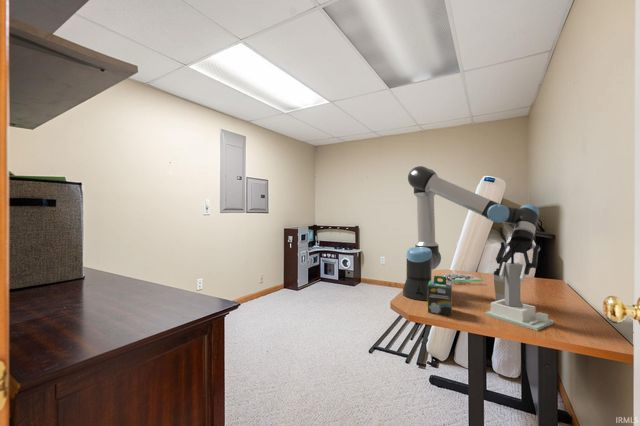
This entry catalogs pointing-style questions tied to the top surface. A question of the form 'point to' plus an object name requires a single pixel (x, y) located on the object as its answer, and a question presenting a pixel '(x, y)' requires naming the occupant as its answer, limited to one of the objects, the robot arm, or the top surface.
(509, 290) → the vintage mobile phone
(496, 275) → the coffee cup
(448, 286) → the chalk box
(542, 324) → the architectural building model
